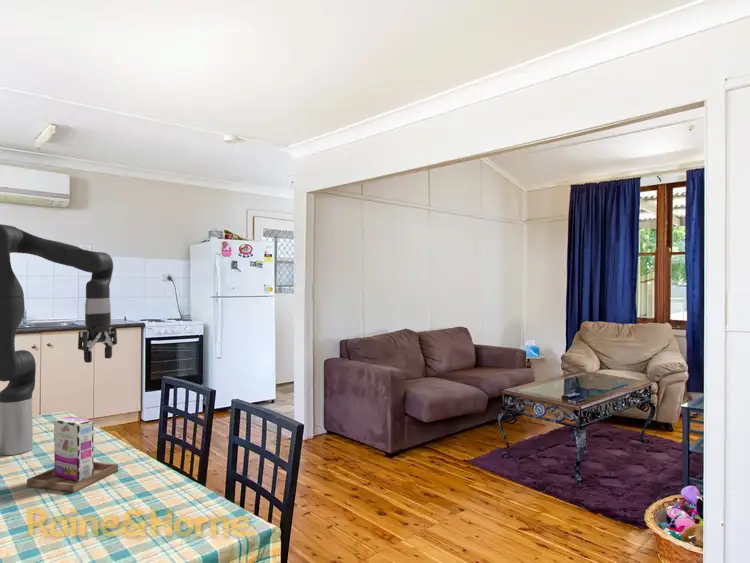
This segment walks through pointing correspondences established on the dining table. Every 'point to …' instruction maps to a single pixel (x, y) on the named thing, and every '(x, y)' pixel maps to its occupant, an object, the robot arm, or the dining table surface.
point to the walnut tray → (60, 484)
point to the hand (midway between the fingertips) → (98, 360)
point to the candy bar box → (73, 448)
